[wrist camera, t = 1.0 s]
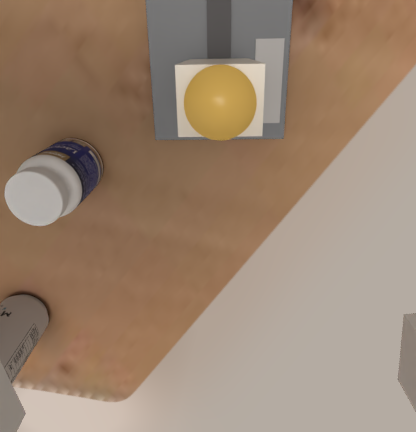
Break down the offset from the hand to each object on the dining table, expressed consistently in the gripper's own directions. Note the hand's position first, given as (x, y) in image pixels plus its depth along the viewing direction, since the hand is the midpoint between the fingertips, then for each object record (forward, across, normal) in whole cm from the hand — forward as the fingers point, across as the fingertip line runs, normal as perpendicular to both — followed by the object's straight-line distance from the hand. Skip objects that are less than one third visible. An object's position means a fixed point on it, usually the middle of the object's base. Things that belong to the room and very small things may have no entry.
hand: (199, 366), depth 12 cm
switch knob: (+26, +2, +6) cm, 27 cm away
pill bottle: (+28, -14, 0) cm, 31 cm away
